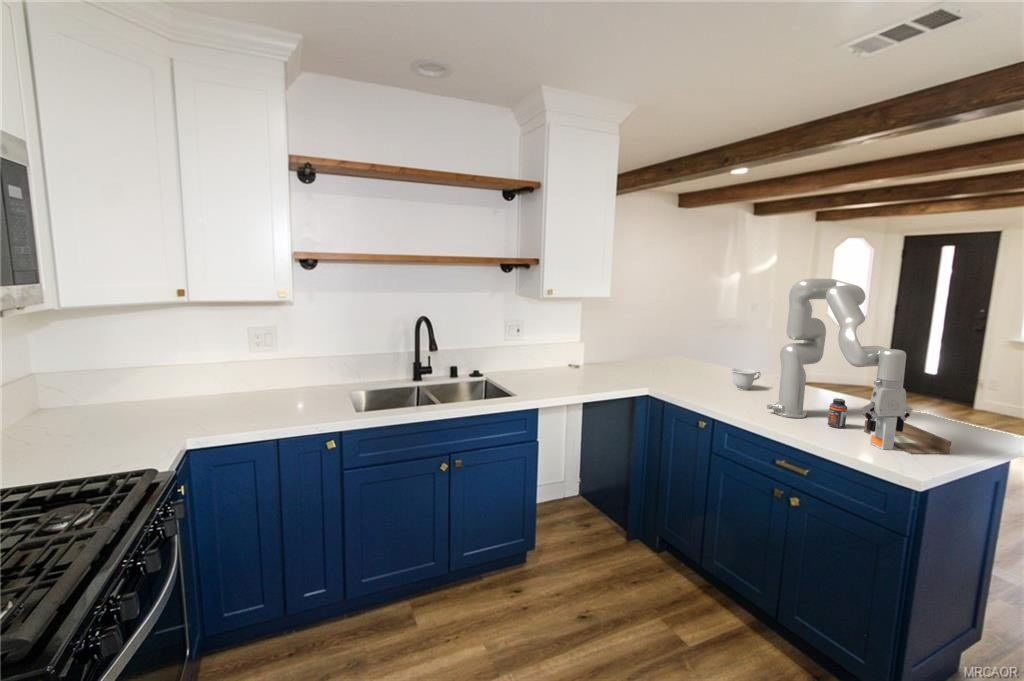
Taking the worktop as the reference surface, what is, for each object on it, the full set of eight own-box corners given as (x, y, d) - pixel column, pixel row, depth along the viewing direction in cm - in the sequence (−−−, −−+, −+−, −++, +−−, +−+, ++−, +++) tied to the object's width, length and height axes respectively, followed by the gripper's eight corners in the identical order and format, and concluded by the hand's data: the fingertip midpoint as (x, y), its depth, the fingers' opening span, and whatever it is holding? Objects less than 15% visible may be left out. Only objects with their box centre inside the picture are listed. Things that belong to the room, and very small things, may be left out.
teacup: (765, 392, 249) (766, 373, 247) (736, 391, 249) (737, 373, 248) (753, 386, 261) (755, 368, 259) (726, 386, 261) (727, 368, 259)
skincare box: (868, 443, 177) (872, 412, 175) (879, 443, 177) (883, 412, 175) (882, 449, 171) (886, 417, 169) (893, 449, 171) (898, 417, 169)
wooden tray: (910, 454, 167) (912, 441, 166) (863, 431, 190) (865, 420, 189) (949, 454, 167) (951, 441, 166) (898, 431, 190) (899, 420, 189)
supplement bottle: (824, 425, 197) (826, 398, 196) (833, 423, 200) (836, 396, 198) (838, 429, 192) (841, 402, 190) (848, 427, 194) (851, 400, 193)
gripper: (872, 386, 167) (867, 434, 169) (923, 386, 166) (917, 434, 169) (857, 381, 174) (853, 427, 177) (905, 381, 174) (900, 427, 176)
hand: (884, 430), depth 173 cm, fingers open, 9 cm apart
